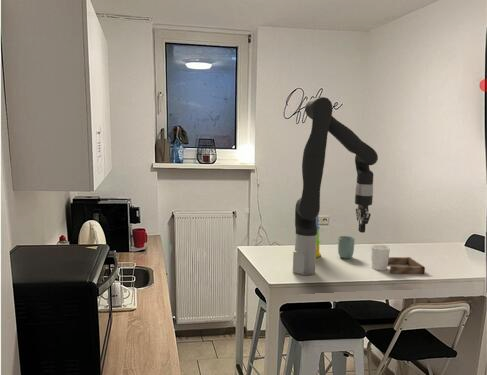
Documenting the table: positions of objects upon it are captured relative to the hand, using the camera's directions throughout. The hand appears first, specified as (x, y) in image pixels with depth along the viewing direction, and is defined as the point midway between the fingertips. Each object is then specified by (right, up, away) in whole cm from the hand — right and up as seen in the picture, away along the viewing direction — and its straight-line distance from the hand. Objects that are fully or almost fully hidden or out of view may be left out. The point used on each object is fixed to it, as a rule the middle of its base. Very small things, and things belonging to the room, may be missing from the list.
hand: (361, 231), depth 190 cm
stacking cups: (-20, -14, +21) cm, 32 cm away
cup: (-3, -15, +18) cm, 24 cm away
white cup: (+9, -17, +3) cm, 20 cm away
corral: (+19, -17, +3) cm, 26 cm away
